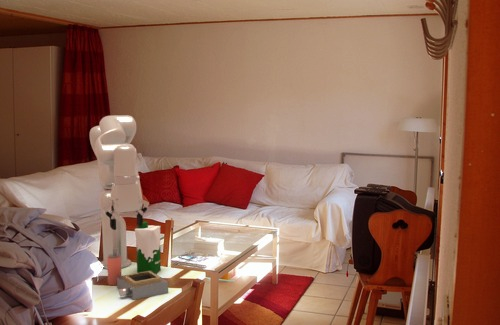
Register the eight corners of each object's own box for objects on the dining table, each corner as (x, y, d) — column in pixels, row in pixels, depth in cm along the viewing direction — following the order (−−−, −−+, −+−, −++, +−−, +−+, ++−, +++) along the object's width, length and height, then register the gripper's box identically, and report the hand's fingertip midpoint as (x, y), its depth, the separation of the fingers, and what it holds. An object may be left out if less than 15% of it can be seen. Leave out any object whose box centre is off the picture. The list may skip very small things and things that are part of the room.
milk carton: (142, 268, 223) (141, 219, 221) (163, 269, 221) (162, 220, 219) (134, 274, 214) (132, 224, 212) (155, 275, 213) (154, 225, 211)
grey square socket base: (109, 289, 197) (108, 275, 197) (150, 281, 206) (150, 268, 205) (124, 301, 184) (123, 287, 183) (168, 292, 192) (167, 279, 192)
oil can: (106, 282, 205) (104, 248, 204) (119, 280, 208) (118, 246, 206) (110, 286, 201) (109, 251, 199) (123, 283, 203) (122, 249, 202)
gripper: (143, 177, 203) (145, 222, 205) (98, 181, 194) (99, 228, 196) (152, 179, 197) (153, 226, 199) (105, 183, 188) (106, 232, 189)
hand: (126, 227), depth 197 cm, fingers open, 9 cm apart
